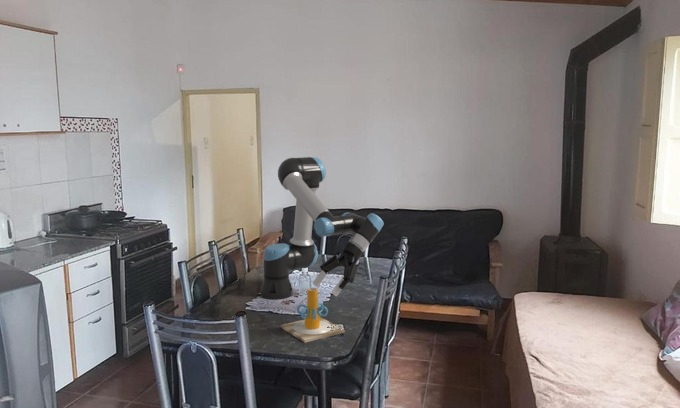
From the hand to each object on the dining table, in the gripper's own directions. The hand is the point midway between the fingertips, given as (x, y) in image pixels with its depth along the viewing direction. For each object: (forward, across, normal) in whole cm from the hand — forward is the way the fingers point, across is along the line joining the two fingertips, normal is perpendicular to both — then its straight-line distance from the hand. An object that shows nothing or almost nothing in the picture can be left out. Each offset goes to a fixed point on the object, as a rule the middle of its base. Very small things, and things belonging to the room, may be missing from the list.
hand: (323, 289), depth 206 cm
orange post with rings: (+14, +1, -7) cm, 15 cm away
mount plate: (+14, +1, -8) cm, 16 cm away
